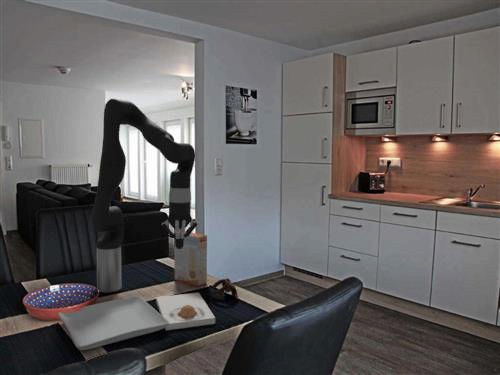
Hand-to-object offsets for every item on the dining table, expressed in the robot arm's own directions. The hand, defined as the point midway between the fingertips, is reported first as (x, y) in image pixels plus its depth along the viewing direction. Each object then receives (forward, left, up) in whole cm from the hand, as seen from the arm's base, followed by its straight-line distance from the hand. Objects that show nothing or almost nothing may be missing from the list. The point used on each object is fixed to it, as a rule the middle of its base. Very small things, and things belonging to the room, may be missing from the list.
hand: (179, 248), depth 142 cm
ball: (+1, -12, -19) cm, 22 cm away
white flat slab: (+1, -5, -21) cm, 22 cm away
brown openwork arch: (+19, +4, -22) cm, 29 cm away
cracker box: (+10, +26, -22) cm, 35 cm away
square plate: (-23, -10, -22) cm, 33 cm away
